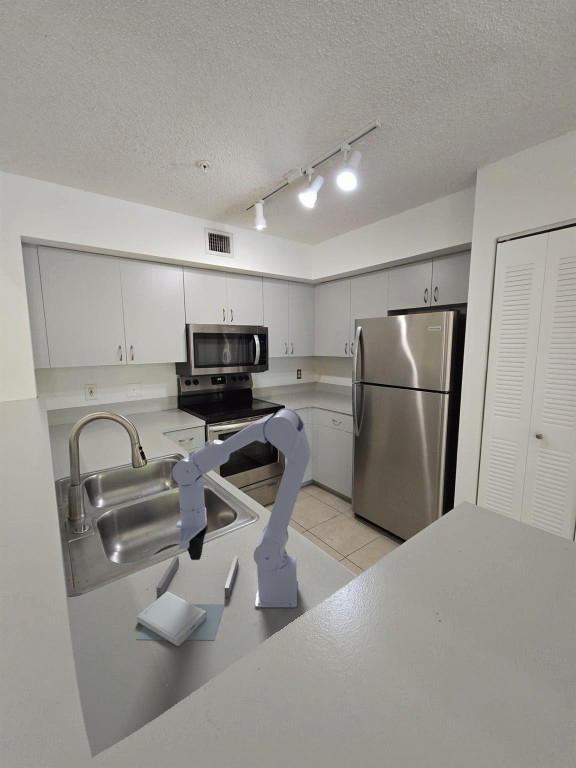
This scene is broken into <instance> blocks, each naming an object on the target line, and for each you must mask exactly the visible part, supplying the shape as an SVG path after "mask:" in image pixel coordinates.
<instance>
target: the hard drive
mask: <svg viewBox="0 0 576 768" xmlns="http://www.w3.org/2000/svg"><path fill="white" fill-rule="evenodd" d="M193 604H194V603H191V602H189V601H187V600H185V599H183V598H181V597H179V596H177V595H175V594H173V593H171V592H169V591H165V592H164V593H163V595H162V596H161V597H159V598H157V599H155V601H153V602H152V603H151V604H150V605H149V606H147V608H145V609H144V610H143V611H142V612H140V613H139V614H138V615H137V616H136V622H137V623H139V624H140V625H142V626H145V627H147V628H149V629H150V630H152V631H153V632H155V633H157V634H158V635H160V636H162V637H163V638H165V639H167V640H166V641H168V642H170V643H171V644H173V645H174V646H177V647H180V646H181V645H182V644H183V643H184V641H186V640H185V639H186V638H187V637H188V636H189V635H190V634H191V633H192V632H193V631H194V630H195V629H196V628H197V627H198V626H199V625H200V624H201V623H202V622H203V621H204V620H205V619H206V617H207V611H205V610H203V609H201V608H199V607H197V606H195V605H193Z"/></svg>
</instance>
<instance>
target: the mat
mask: <svg viewBox="0 0 576 768" xmlns="http://www.w3.org/2000/svg"><path fill="white" fill-rule="evenodd" d="M192 604H193V605H195V606H197V607H199V608H201V609H203V610H205V611H207V617H206V619H205V620H204V621H203V622H202V623H201V624H200V625H199V626H198V627H197V628H196V629H195V630H194V631H193V632H192V633H191V634H190V635H189V636H188V637H187V638H186V639H185V640H184V641H215V639H216V637H217V632H218V629H219V627H220V623H221V618H222V615H223V612H224V609H225V604H222V603H220V604H219V603H216V604H215V603H211V604H210V603H209V604H208V603H207V604H206V603H204V604H203V603H192ZM142 626H143V627H142V628H141V630H140V631H139V633H138V636H137V637H136V641H137V640H138V641H168V640H167V639H165V638H163V637H162V636H160V635H158V634H157V633H155V632H153V631H152V630H150V629H149V628H147V627H145V626H144V625H142Z"/></svg>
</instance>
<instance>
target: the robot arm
mask: <svg viewBox="0 0 576 768" xmlns="http://www.w3.org/2000/svg"><path fill="white" fill-rule="evenodd" d="M305 429H306V428H305V422H304V421H303V420H302V418H301V417H300V415H299V414H298V413H297V412H296V411H295V410H293V409H291V408H287V407H286V408H281V409H279V410H278V411H277V412H276V413H274V412H273V413H271V414H268V415H266V416H264V417H262V418H260V419H257V420H256V421H254V422H253V423H251V424H249V425H248V426H246V427H244V428H243V429H241V430H240V431H238V432H237V433H235V434H233V435H232V436H230V437H228V438H227V439H225V440H220V439H214V440H212V439H209V440H207V441H206V442H205V443H203V444H204V446H202V447H200V448H199V449H197V450H194V449H193V450H192V451H190V452H188V455H186V456H184V457H183V458H182V459H180V460H178V461H177V463H175V465H174V466H173V467H172V471H171V473H172V475H171V476H172V477H173V480H174V481H175V482H176V483H177V485H178V486H177V487H178V489H177V490H178V500H179V511H180V520H178V521H177V523H176V528H180V529H179V530H180V533H179V534H180V535H179V539H178V548H179V550H187V552H188V555H189V558H190V559H191V561H200V559H201V558H202V554H203V548H204V541H205V537H206V533H207V531H208V529H209V526H208V525H207V524H208V521H207V520H208V519H207V515H208V514H207V507H206V505H205V503H206V502H205V491H204V490H205V489H204V488H205V486H204V475H206V474H208V473H210V472H211V471H213V470H215V469H217V468H219V467H220V466H222V465H223V464H226V463H228V462H229V460H230V455H231V454H232V453H234V452H236V451H238V450H239V449H243V447H245V446H247V445H249V444H251V443H253V442H256V441H258V442H260V443H262V444H266V443H267V442H269V443H270V444H271V445H272V446H273V447H275V448H276V449H277V450H278V451H280V452H281V453H282V455H283V456H284V457H285V458H286V465H285V468H284V471H283V474H282V477H281V479H280V483H279V487H278V490H277V492H276V496H275V499H274V502H273V503H274V504H273V507H272V510H271V513H270V517H269V520H268V522H267V525H265V527H264V528H263V530H262V535H261V537H260V539H259V541H258V543H257V546H256V547H255V549H254V551H253V560H254V562H255V565H256V567H257V568H256V569H257V572H256V573H257V588H256V589H257V590H256V594H255V602H254V607H255V608H297V607H298V606H297V605H298V604H297V603H298V591H299V581H298V574H297V571H298V570H297V569H298V568H297V566H298V565H297V557H294V556H290V555H288V552H287V550H286V545H287V542H288V540H289V531H288V527H289V524H290V522H291V518H292V514H293V511H294V509H295V505H296V502H297V498H298V495H299V492H300V490H301V486H302V483H303V479H304V477H305V473H306V470H307V467H308V463H309V461H310V458H311V452H312V451H311V447H310V444H309V443H310V442H309V441H308V437H307V434H306V430H305Z"/></svg>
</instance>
